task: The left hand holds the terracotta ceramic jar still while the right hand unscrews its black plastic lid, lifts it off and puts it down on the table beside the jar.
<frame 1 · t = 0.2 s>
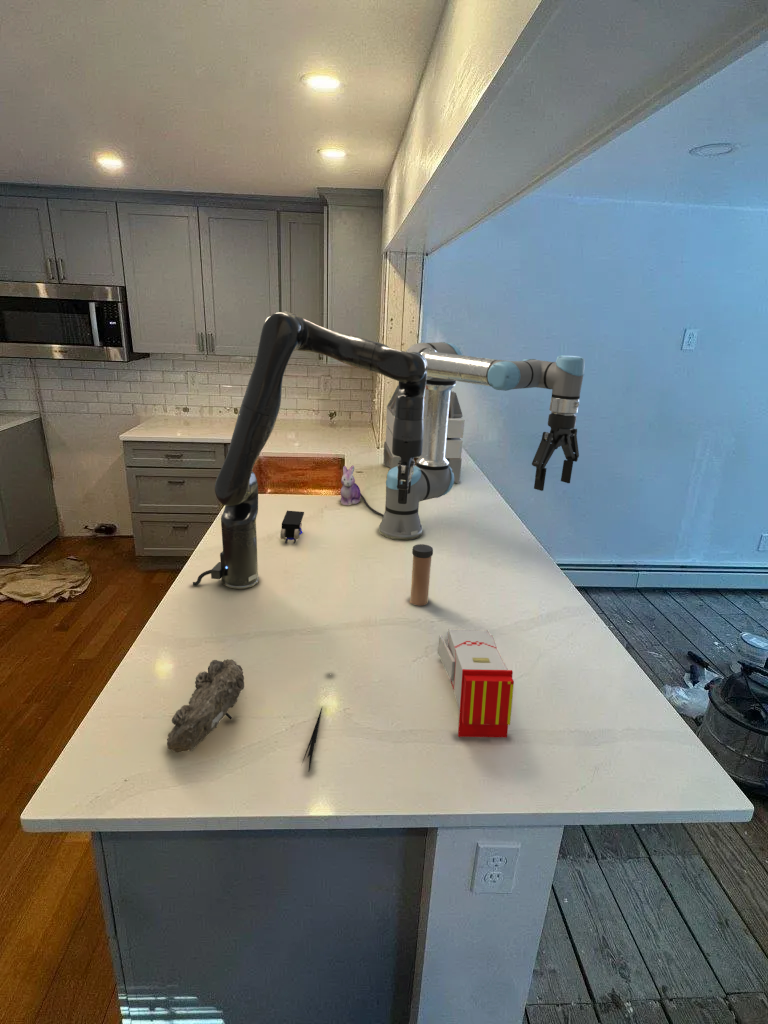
left hand: (404, 498, 145), 29 cm above the counter, tool pointing down, fingers open, 8 cm apart
right hand: (552, 485, 166), 28 cm above the counter, tool pointing down, fingers open, 13 cm apart
figurine character: (292, 538, 192), on the counter
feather: (319, 719, 109), on the counter
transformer: (419, 473, 275), on the counter
fossil: (212, 717, 108), on the counter
lid: (422, 549, 149), point 15 cm above the counter, screwed on, not yet turned
toy: (469, 691, 119), on the counter
figurine: (350, 502, 230), on the counter
jar: (419, 601, 154), on the counter
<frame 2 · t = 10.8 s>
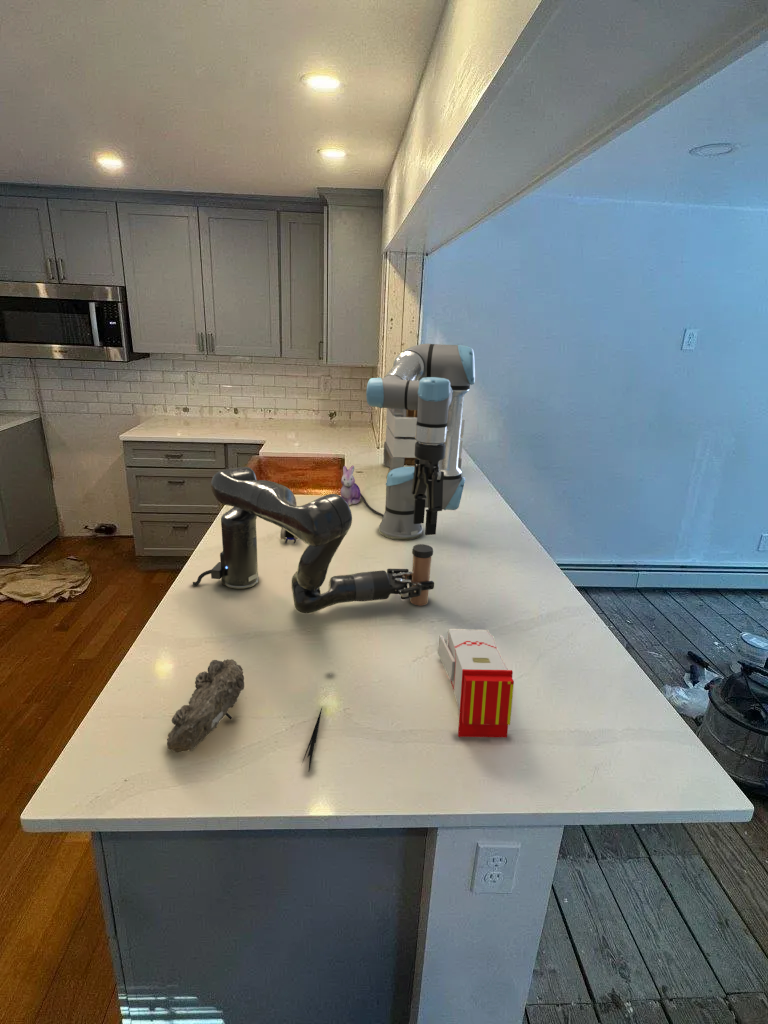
left hand: (429, 580, 153), 6 cm above the counter, tool horizontal, fingers closed on jar, 5 cm apart
right hand: (424, 528, 147), 21 cm above the counter, tool pointing down, fingers open, 7 cm apart
jar: (419, 601, 154), on the counter, touching left hand
everything else where it was.
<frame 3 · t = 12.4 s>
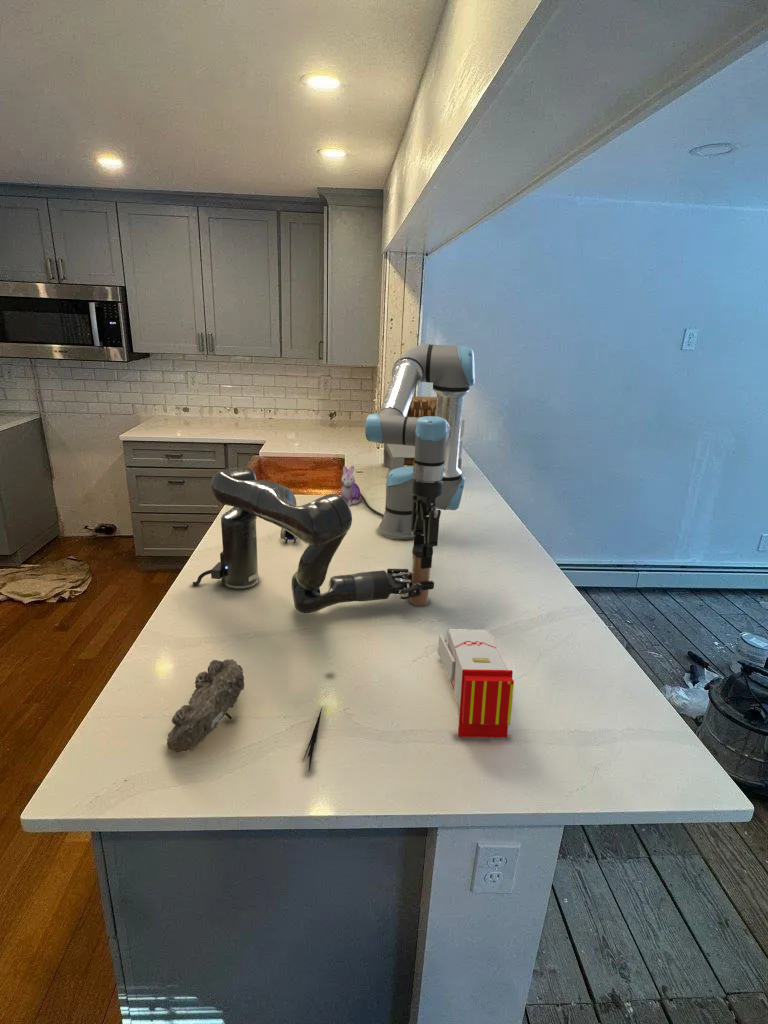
left hand: (429, 580, 153), 6 cm above the counter, tool horizontal, fingers closed on jar, 5 cm apart
right hand: (421, 562, 151), 12 cm above the counter, tool pointing down, fingers closed on lid, 5 cm apart
lid: (422, 549, 149), point 15 cm above the counter, screwed on, not yet turned, touching right hand
jar: (419, 601, 154), on the counter, touching left hand
everything else where it was.
when the right hand's fingers open (12 cm above the counter, at t = 13.8 s): lid stays where it is, point 16 cm above the counter.
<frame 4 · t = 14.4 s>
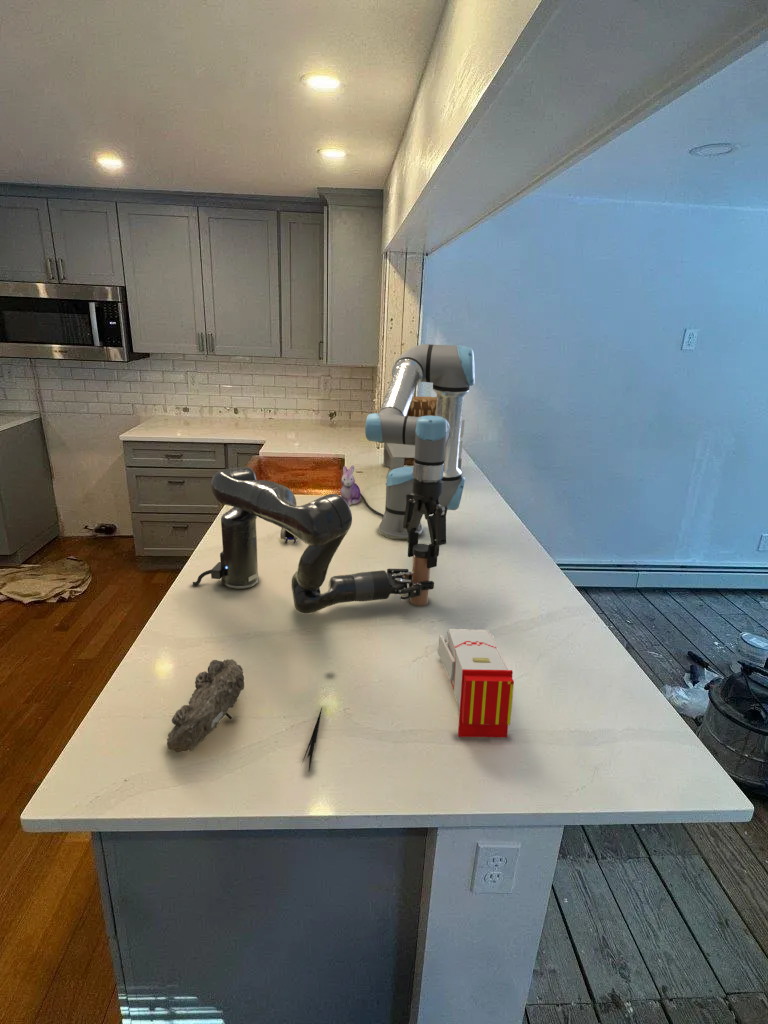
left hand: (429, 580, 153), 6 cm above the counter, tool horizontal, fingers closed on jar, 5 cm apart
right hand: (421, 561, 150), 12 cm above the counter, tool pointing down, fingers open, 7 cm apart
lid: (422, 548, 149), point 16 cm above the counter, turned 77° so far, risen 0.2 cm, still on its thread
jar: (419, 601, 154), on the counter, touching left hand
everything else where it was.
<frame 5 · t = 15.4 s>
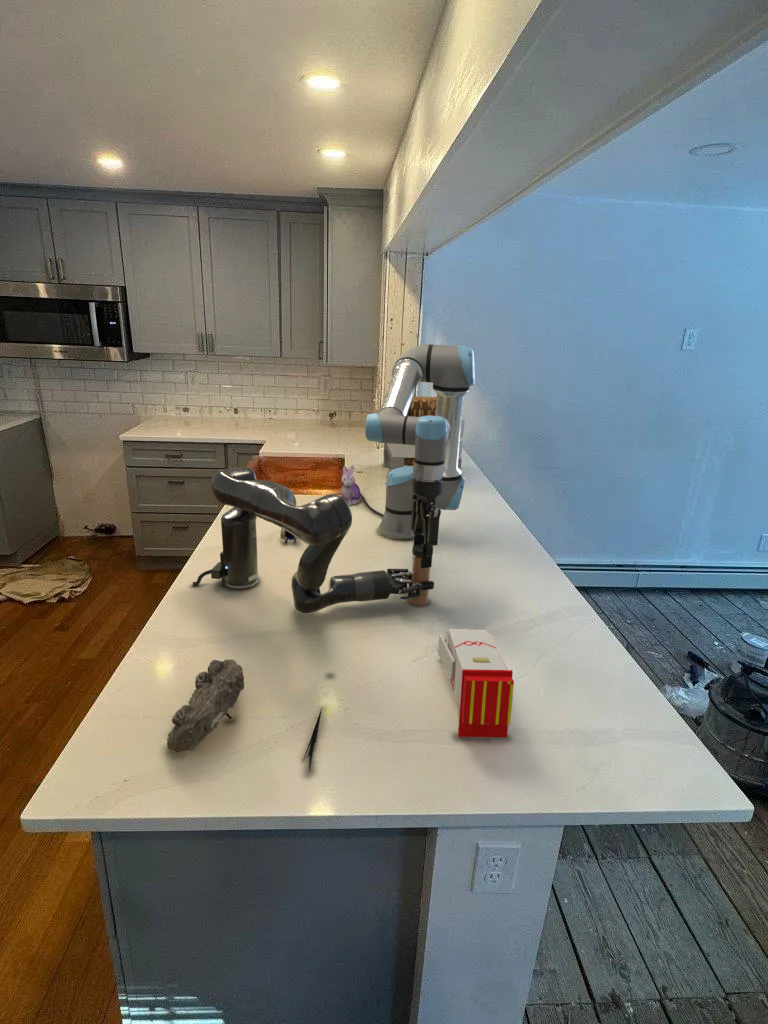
left hand: (429, 580, 153), 6 cm above the counter, tool horizontal, fingers closed on jar, 5 cm apart
right hand: (421, 562, 150), 12 cm above the counter, tool pointing down, fingers closed on lid, 5 cm apart
lid: (422, 548, 149), point 16 cm above the counter, turned 77° so far, risen 0.2 cm, still on its thread, touching right hand
jar: (419, 601, 154), on the counter, touching left hand
everything else where it was.
when the right hand's fingers open (0 cm above the counter, at t = 21.5 s): lid drops 3 cm, point 1 cm above the counter.
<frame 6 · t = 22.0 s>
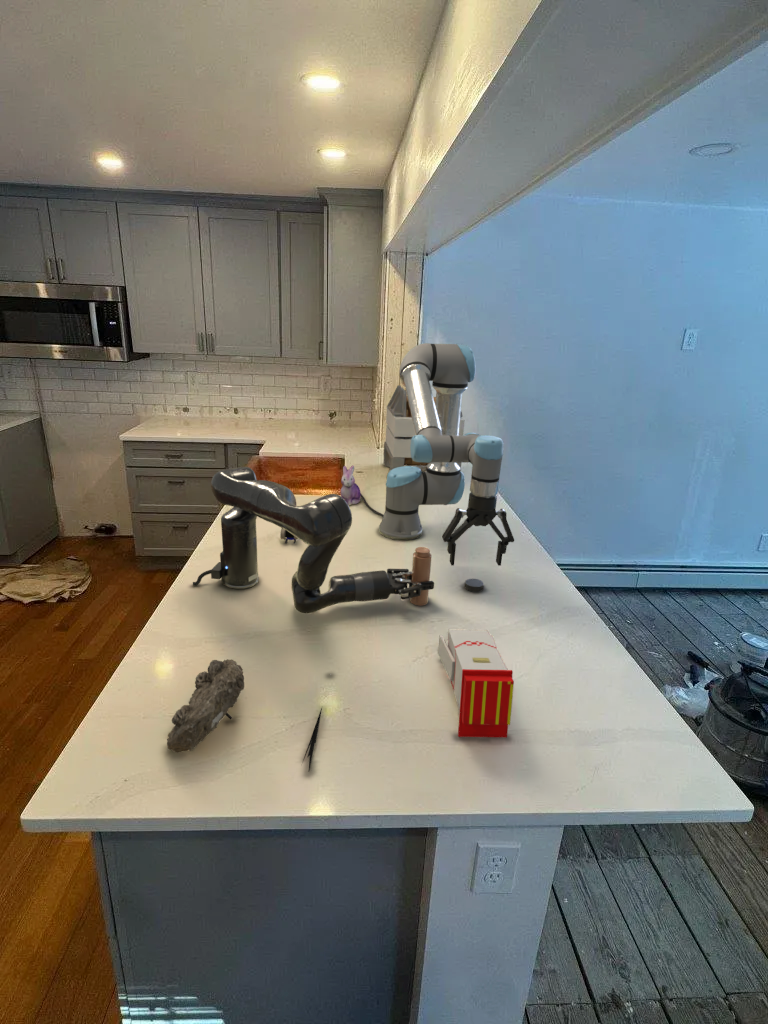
left hand: (429, 580, 153), 6 cm above the counter, tool horizontal, fingers closed on jar, 5 cm apart
right hand: (475, 563, 162), 7 cm above the counter, tool pointing down, fingers open, 13 cm apart
lid: (474, 583, 163), point 1 cm above the counter, off its thread
jar: (419, 601, 154), on the counter, touching left hand
everything else where it was.
when the left hand's fingers open (6 cm above the counter, at t = 22.2 s): jar stays where it is, on the counter.
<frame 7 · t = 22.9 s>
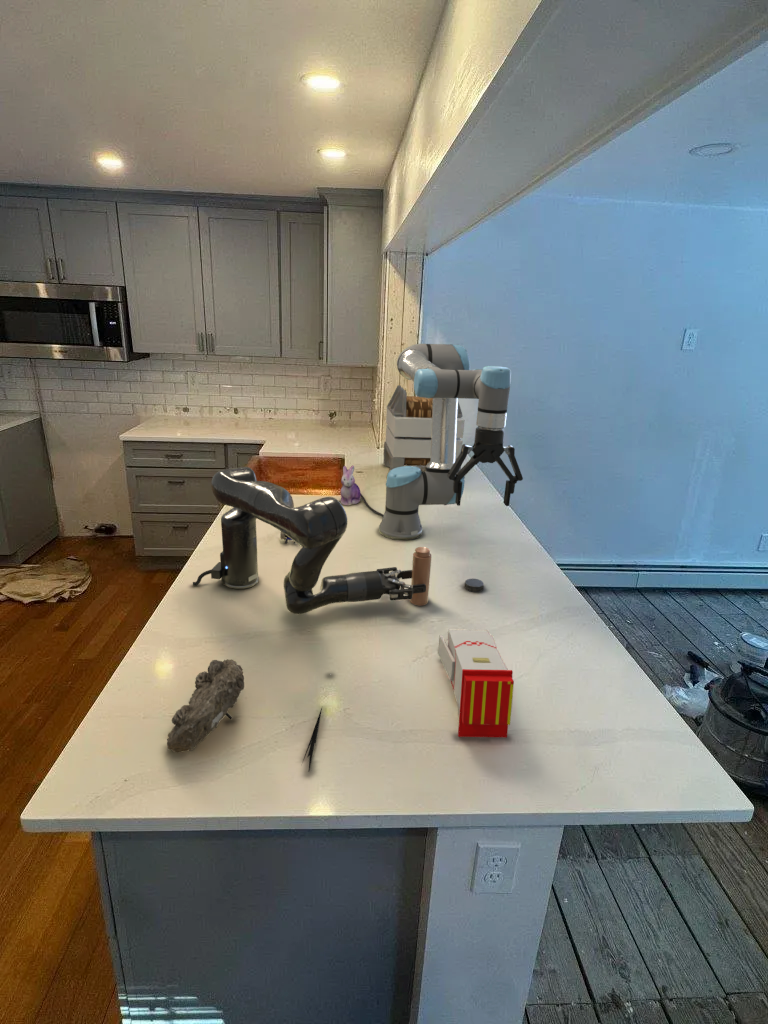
left hand: (419, 580, 153), 6 cm above the counter, tool horizontal, fingers open, 8 cm apart
right hand: (482, 504, 155), 25 cm above the counter, tool pointing down, fingers open, 13 cm apart
jar: (419, 601, 154), on the counter
everything else where it was.
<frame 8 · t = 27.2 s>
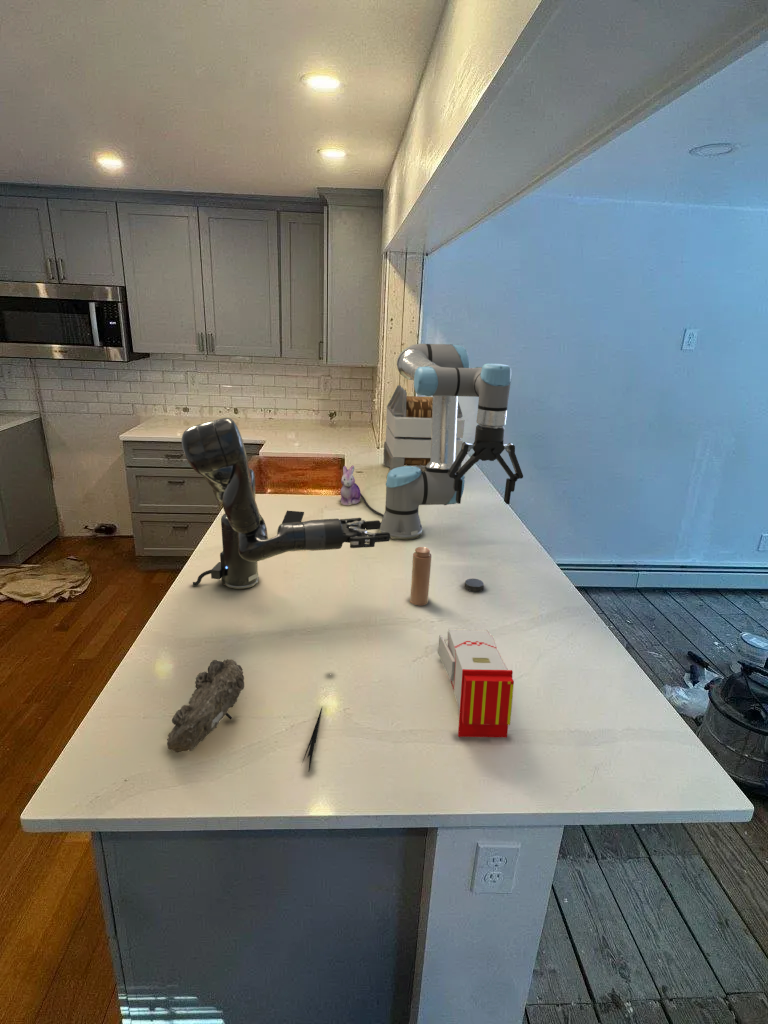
left hand: (384, 530, 143), 22 cm above the counter, tool horizontal, fingers open, 8 cm apart
right hand: (482, 502, 155), 26 cm above the counter, tool pointing down, fingers open, 13 cm apart
nothing on the counter moved.
at the end: lid came off its thread; lid point 1.3 cm above the counter; the left hand is holding nothing; the right hand is holding nothing; jar tilted 0°; jar moved 0.0 cm from its start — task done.
